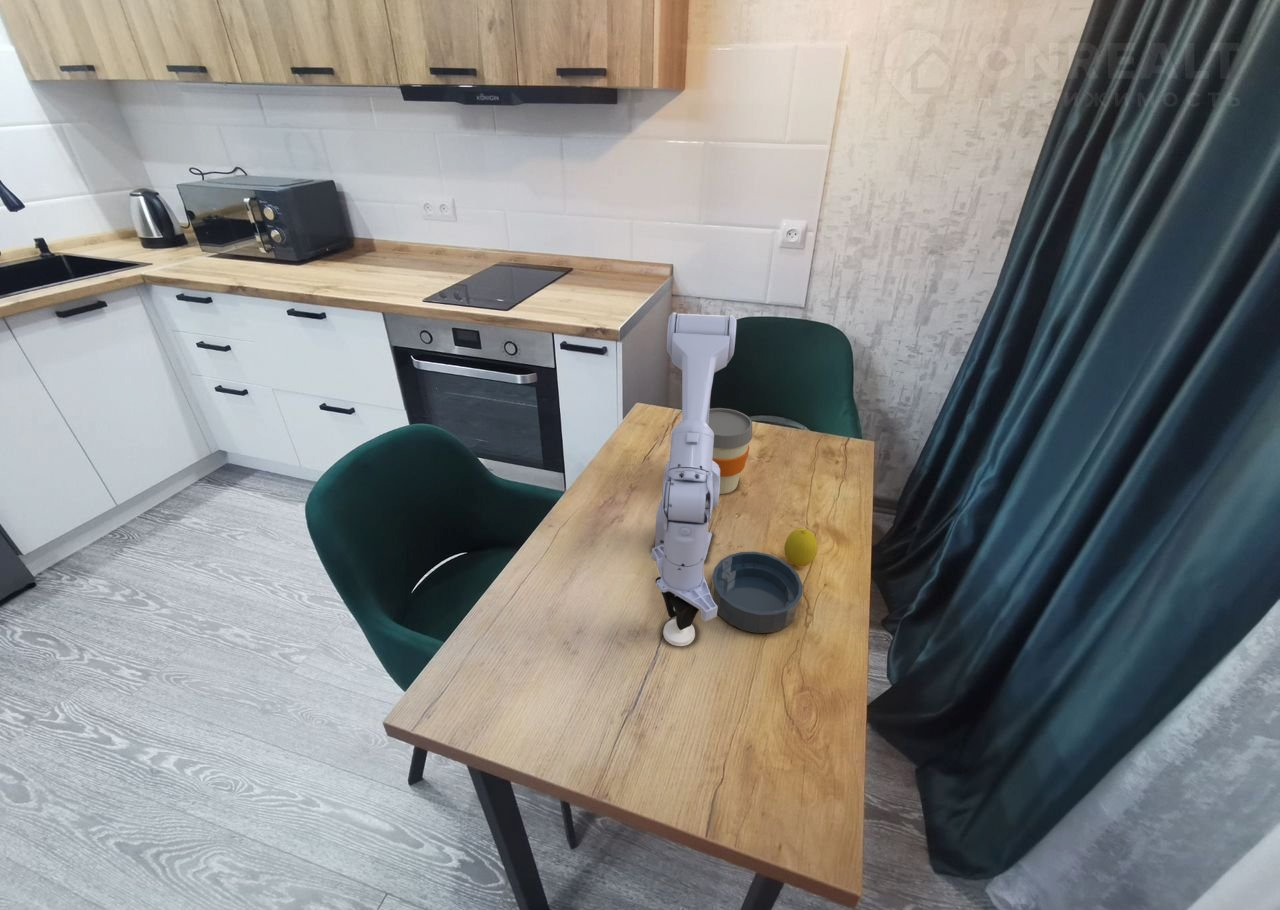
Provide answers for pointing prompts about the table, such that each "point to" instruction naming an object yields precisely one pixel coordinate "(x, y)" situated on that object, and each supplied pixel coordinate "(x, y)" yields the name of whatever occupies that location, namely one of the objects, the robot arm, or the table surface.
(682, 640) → the chess piece
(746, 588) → the bowl
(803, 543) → the lemon
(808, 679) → the table surface
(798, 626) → the table surface
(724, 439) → the reusable coffee cup
